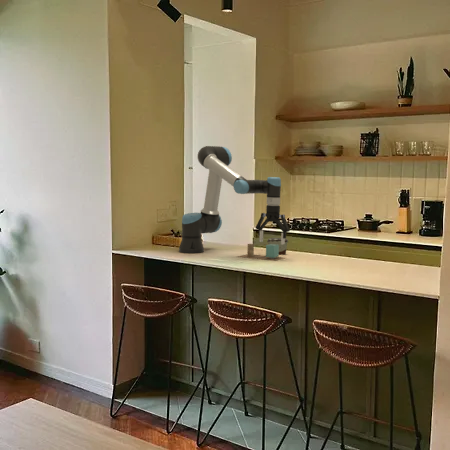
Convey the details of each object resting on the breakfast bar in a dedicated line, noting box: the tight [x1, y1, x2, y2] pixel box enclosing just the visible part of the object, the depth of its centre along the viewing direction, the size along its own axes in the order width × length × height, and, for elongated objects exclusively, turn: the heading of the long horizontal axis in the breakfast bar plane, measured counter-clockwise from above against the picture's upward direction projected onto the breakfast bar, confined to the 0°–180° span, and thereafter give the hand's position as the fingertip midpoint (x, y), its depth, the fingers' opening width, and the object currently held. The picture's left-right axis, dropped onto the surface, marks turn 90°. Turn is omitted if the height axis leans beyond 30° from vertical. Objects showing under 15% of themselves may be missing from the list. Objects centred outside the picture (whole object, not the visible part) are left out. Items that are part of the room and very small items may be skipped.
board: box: [236, 254, 286, 262], centre depth 317 cm, size 25×14×1 cm, turn 57°
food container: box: [267, 237, 289, 256], centre depth 331 cm, size 12×6×10 cm, turn 84°
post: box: [246, 243, 255, 257], centre depth 320 cm, size 3×3×7 cm
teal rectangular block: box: [265, 244, 280, 258], centre depth 313 cm, size 5×5×7 cm
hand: (271, 243), depth 313 cm, fingers open, 13 cm apart
